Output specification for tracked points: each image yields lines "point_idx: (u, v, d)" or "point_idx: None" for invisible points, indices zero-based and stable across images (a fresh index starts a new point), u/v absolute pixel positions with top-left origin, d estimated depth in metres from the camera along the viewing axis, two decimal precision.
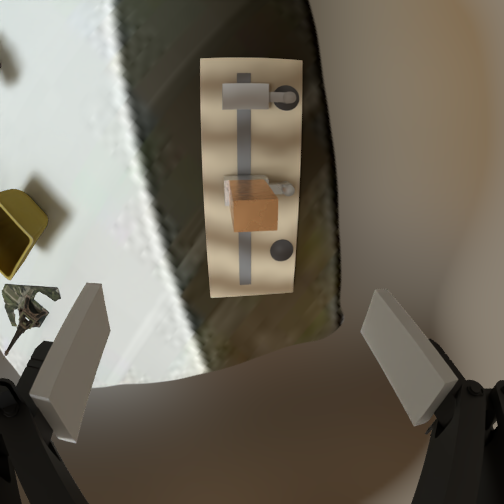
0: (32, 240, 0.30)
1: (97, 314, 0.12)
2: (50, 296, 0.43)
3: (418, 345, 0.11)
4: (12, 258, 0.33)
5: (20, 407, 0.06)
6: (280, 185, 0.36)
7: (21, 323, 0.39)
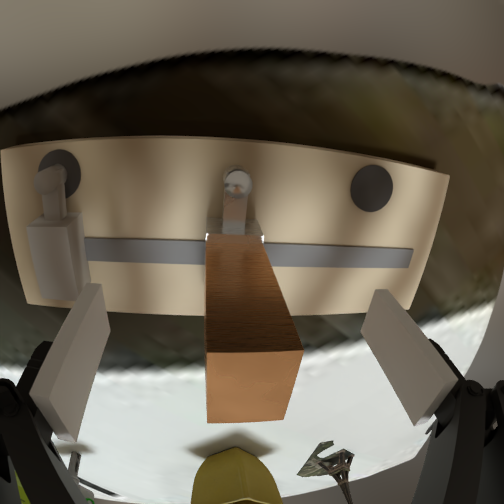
0: (246, 498, 0.25)
1: (97, 314, 0.12)
2: (327, 447, 0.38)
3: (418, 345, 0.11)
4: None
5: (20, 407, 0.06)
6: (226, 198, 0.16)
7: (338, 482, 0.36)
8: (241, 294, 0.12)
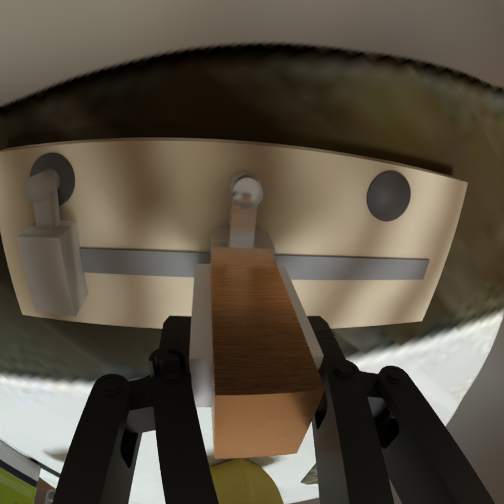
0: None
1: None
2: None
3: None
4: None
5: (182, 378, 0.09)
6: (234, 208, 0.15)
7: None
8: (252, 320, 0.10)
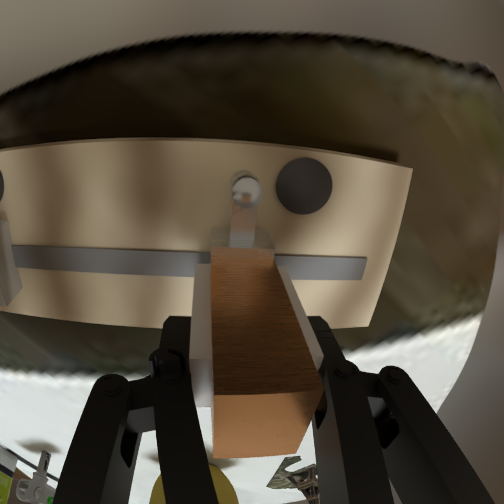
0: None
1: None
2: (294, 462, 0.35)
3: None
4: None
5: (182, 378, 0.09)
6: (234, 208, 0.15)
7: (307, 498, 0.34)
8: (252, 320, 0.10)
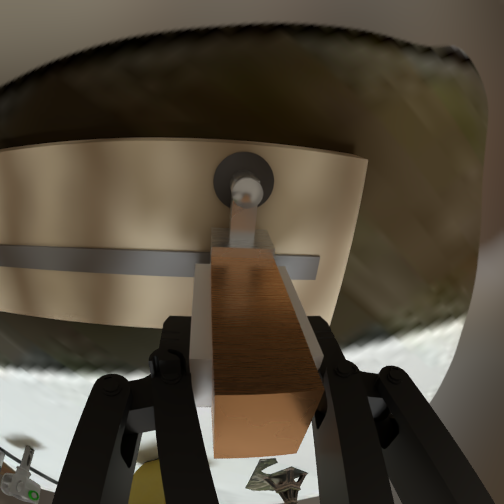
0: None
1: None
2: (270, 464, 0.35)
3: None
4: None
5: (182, 378, 0.09)
6: (234, 208, 0.15)
7: (285, 501, 0.33)
8: (252, 320, 0.10)
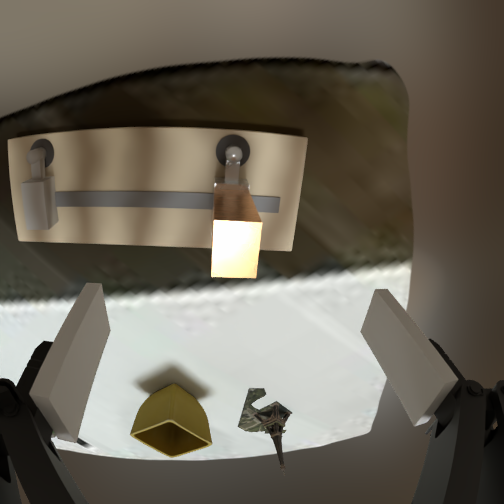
0: (170, 420, 0.34)
1: (97, 314, 0.12)
2: (258, 396, 0.46)
3: (418, 345, 0.11)
4: None
5: (20, 407, 0.06)
6: (227, 163, 0.26)
7: (271, 434, 0.45)
8: (233, 205, 0.22)
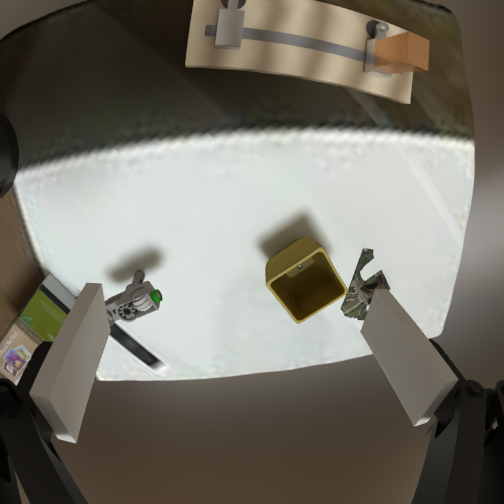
0: (322, 248, 0.38)
1: (97, 314, 0.12)
2: (368, 260, 0.50)
3: (418, 345, 0.11)
4: (328, 285, 0.45)
5: (20, 407, 0.06)
6: (379, 31, 0.30)
7: None
8: None
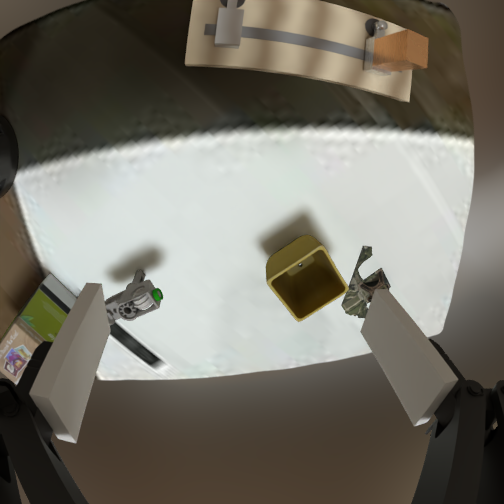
0: (322, 246, 0.38)
1: (97, 314, 0.12)
2: None
3: (418, 345, 0.11)
4: (329, 283, 0.45)
5: (20, 407, 0.06)
6: (378, 29, 0.30)
7: None
8: None
